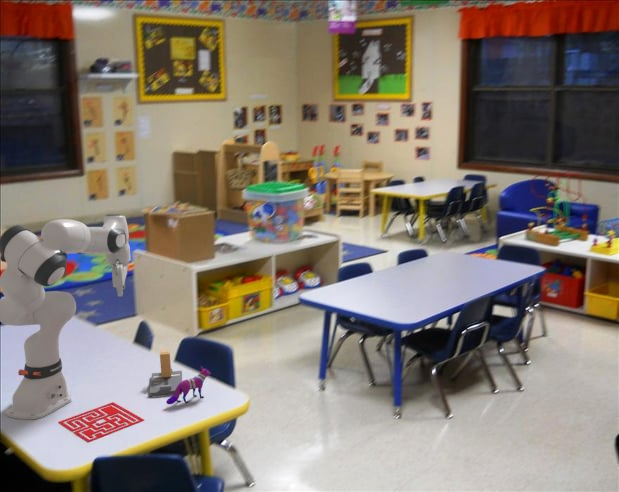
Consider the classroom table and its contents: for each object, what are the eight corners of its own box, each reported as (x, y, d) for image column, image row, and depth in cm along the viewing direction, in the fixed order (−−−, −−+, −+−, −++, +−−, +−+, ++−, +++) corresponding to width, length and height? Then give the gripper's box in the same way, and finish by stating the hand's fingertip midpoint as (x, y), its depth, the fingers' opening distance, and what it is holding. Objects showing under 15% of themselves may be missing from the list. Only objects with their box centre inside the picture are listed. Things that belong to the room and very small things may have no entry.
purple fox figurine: (214, 394, 255) (213, 366, 253) (169, 409, 244) (167, 381, 242) (209, 391, 258) (207, 363, 256) (164, 406, 247) (161, 377, 245)
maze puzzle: (58, 423, 237) (58, 421, 237) (113, 403, 251) (113, 402, 251) (88, 443, 223) (88, 441, 223) (144, 421, 237) (144, 419, 237)
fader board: (181, 393, 256) (181, 386, 256) (150, 397, 255) (149, 389, 254) (182, 374, 274) (181, 366, 273) (152, 377, 272) (151, 369, 271)
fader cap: (171, 376, 267) (169, 353, 265) (161, 377, 266) (159, 354, 264) (171, 373, 270) (169, 349, 268) (161, 374, 270) (160, 350, 268)
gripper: (124, 262, 260) (128, 299, 263) (129, 250, 279) (132, 284, 282) (106, 263, 259) (110, 301, 262) (112, 251, 278) (115, 286, 281)
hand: (121, 292), depth 272 cm, fingers open, 8 cm apart
